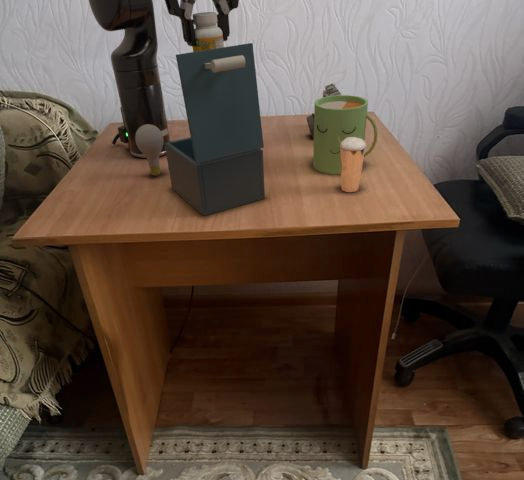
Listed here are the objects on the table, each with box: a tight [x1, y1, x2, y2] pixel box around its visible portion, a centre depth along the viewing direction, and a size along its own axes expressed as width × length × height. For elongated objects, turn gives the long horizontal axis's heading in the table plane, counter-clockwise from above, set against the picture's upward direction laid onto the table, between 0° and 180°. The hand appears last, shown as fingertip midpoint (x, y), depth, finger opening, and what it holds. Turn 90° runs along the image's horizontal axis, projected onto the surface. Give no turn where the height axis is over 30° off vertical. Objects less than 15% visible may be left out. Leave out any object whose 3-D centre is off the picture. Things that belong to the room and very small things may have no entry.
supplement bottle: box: [191, 11, 225, 52], centre depth 84 cm, size 5×5×10 cm
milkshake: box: [338, 136, 367, 193], centre depth 89 cm, size 5×5×10 cm
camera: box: [306, 83, 342, 139], centre depth 113 cm, size 16×9×10 cm, turn 3°
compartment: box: [165, 136, 266, 217], centre depth 90 cm, size 15×13×9 cm
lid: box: [175, 42, 265, 164], centre depth 76 cm, size 15×13×5 cm
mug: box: [312, 94, 378, 175], centre depth 97 cm, size 13×10×12 cm
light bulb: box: [135, 124, 164, 177], centre depth 98 cm, size 6×6×10 cm
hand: (207, 42), depth 83 cm, fingers closed on supplement bottle, 5 cm apart
